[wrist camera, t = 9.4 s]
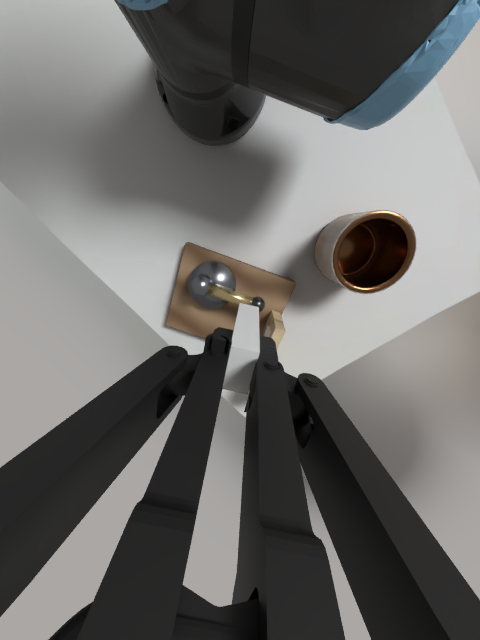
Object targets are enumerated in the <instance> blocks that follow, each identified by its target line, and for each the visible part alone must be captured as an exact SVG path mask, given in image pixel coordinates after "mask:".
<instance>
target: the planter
mask: <svg viewBox="0 0 480 640" xmlns="http://www.w3.org/2000/svg"><path fill="white" fill-rule="evenodd" d="M415 251H416V236H415V232H414V230H413V228H412V226H411V224H410V223H409V221H408V220H407V219H406V218H404V217H403V216H402V215H400V214H398V213H396V212H392V211H387V210H377V211H370V212H363V213H355V214H348V215H344V216H341V217H339V218H337V219H335V220H334V221H332V222H331V223H329V224H328V225H327V226H326V227H325V228H324V230H323V231H322V232H321V234H320V235H319V237H318V240H317V242H316V246H315V260H316V264H317V266H318V268H319V270H320V271H321V272H322V273H323V274H324V275H325V276H326V277H327V278H329V279H331V280H332V281H334V282H336V283H338V284H339V285H341V286H343V287H344V288H346V289H348V290H350V291H352V292H355V293H360V294H371V293H376V292H379V291H382V290H385V289H387V288H389V287H390V286H392V285H393V284H395V283H396V282H397V281H398V280H400V279H401V278H402V277H403V275H404V274H405V273H406V272H407V270H408V269H409V267H410V265H411V263H412V261H413V259H414V256H415Z"/></svg>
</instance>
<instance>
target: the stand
mask: <svg viewBox="0 0 480 640" xmlns="http://www.w3.org/2000/svg"><path fill="white" fill-rule="evenodd" d="M206 261H219V262H222V263H224V264H225V265H227V266H228V267H229V268H230V269H231V270H232V272H233V273H234V276H235V279H236V290H235V292H238V293H241V294H244V295H247V296H250V297H256V296H258V297H261V298H262V299H263V300H264V302H265V307H264V309H263V310H262V311H261V312H259V335H261V336H266V337H270V338H272V339H273V340H274V341H275V343H276V350H277V348H278V346H279V344H280V342H281V340H282V338H283V336H284V333H285V327H284V324H283V321H282V318H281V315H282V313H283V311H284V308H285V306H286V304H287V302H288V300H289V297H290V295H291V293H292V291H293V289H294V286H295V284H296V283H295V282H294V281H293V280H290V279H287V278H284V277H282V276H279V275H276V274H274V273H271V272H268V271H265V270H263V269H260V268H257V267H255V266H252V265H249V264H246V263H244V262H241V261H238V260H236V259H233V258H230V257H227V256H225V255H222V254H219V253H217V252H214V251H211V250H208V249H206V248H203V247H200V246H198V245H195V244H192V243H189V242H188V243H185V248H184V252H183V256H182V260H181V264H180V268H179V272H178V276H177V280H176V285H175V289H174V293H173V297H172V301H171V305H170V309H169V313H168V317H167V322H166V325H167V326H170V327H173V328H176V329H179V330H182V331H185V332H188V333H191V334H194V335H197V336H200V337H202V338H205V339H206V336H207V335H209V334H212V333H213V332H214V330H215V329H216V328H218V327H221V328H226V329H231V330H234V327H235V322H236V318H237V313H238V309H239V305H238V304H235V303H232V302H229V303H228V304H226V305H225V306H223V307H220V308H207V307H204V306H202V305H200V304H199V303H197V302H196V301H195V300H194V298H193V297H192V295H191V293H190V292H189V288H188V286H189V277H190V275H191V273H192V271H193V270H194V269H195V268H196V267H197V266H198V265H200V264H201V263H203V262H206Z"/></svg>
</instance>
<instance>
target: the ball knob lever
mask: <svg viewBox="0 0 480 640" xmlns="http://www.w3.org/2000/svg"><path fill="white" fill-rule="evenodd" d="M188 288H189V292H190V293H191V295H192V297H193V298H194V300H195V301H196V302H197V303H199V304H200V305H202V306H204V307H207V308H220V307H223V306H225V305H226V304H228V303H229V302H232V303H235V304H238V305H239V304H240V303H242V304H247V305H251V306H256V307H259V312H261V311H262V310H263V309H264V307H265V302H264V300H263V299H262V298H261V297H258V296H256V297H250V296H247V295H244V294H241V293H238V292H235V290H236V279H235V276H234V273H233V272H232V270H231V269H230V268H229V267H228V266H227V265H225V264H224V263H222V262H219V261H206V262H203V263H201V264H200V265H198V266H197V267H196V268H195V269H194V270H193V271H192V273H191V275H190V277H189V286H188Z"/></svg>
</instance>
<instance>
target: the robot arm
mask: <svg viewBox="0 0 480 640" xmlns="http://www.w3.org/2000/svg"><path fill="white" fill-rule="evenodd" d="M115 2H116V3H117V5H118V6H119V8H120V10H121V11H122V13H123V14H124V16H125V18H126V19H127V21H128V23H129V24H130V26H131V27H132V29H133V31H134V32H135V34H136V35H137V37H138V39H139V40H140V42H141V43H142V45H143V47H144V48H145V50H146V51H147V53H148V55H149V56H150V58H151V59H152V61H153V64H154V70H155V77H156V82H157V86H158V90H159V93H160V96H161V98H162V101H163V103H164V105H165V107H166V109H167V111H168V113H169V114H170V116H171V117H172V119H173V120H174V121H175V123H176V124H177V125H178V127H179V128H180V129H181V130H182V131H183V132H184V133H185V134H186V135H188V136H189V137H190V138H192V139H194V140H195V141H197V142H200V143H203V144H206V145H224V144H228V143H230V142H233V141H235V140H237V139H238V138H240V137H241V136H243V135H244V134H245V133H246V132H247V131H248V130H249V129H250V128H251V127H252V125H253V124H254V123H255V121H256V119H257V118H258V116H259V114H260V112H261V110H262V107H263V105H264V102H265V98H266V95H267V96H269V97H272V98H275V99H277V100H280V101H282V102H285V103H287V104H290V105H293V106H295V107H298V108H300V109H303V110H306V111H308V112H311V113H313V114H316V115H318V116H321V117H323V118H324V121H326V122H328V123H331V124H333V123H340V124H343V125H346V126H349V127H352V128H356V129H359V130H368V129H370V128H373V127H377V126H380V125H382V124H384V123H385V122H387V121H388V120H390V119H391V118H393V117H394V116H395V115H396V114H398V113H399V112H400V111H401V110H402V109H404V108H405V107H406V106H407V105H408V104H409V103H410V102H411V101H412V100H413V99H414V98H415V97H416V96H417V95H418V94H419V93H420V92H421V91H422V90H423V89H424V88H425V87H426V85H427V84H428V83H429V82H430V81H431V80H432V79H433V78H434V76H435V75H436V74H437V73H438V72H439V71H440V69H441V68H442V67H443V66H444V65H445V64H446V62H447V61H448V60H449V59H450V57H451V56H452V55H453V53H454V52H455V51H456V50H457V49H458V47H459V46H460V45H461V43H462V42H463V41H464V39H465V38H466V37H467V35H468V34H469V32H470V31H471V30H472V28H473V27H474V26H475V24H476V23H477V21H478V20H479V18H480V0H115ZM222 389H226V390H230V391H235V392H240V393H244V394H248V392H249V389H250V393H249V397H248V400H247V404H246V407H245V411H244V412H246V411H247V414H246V431H245V447H244V465H243V481H242V498H241V515H240V531H239V548H238V564H237V574H236V581H235V586H234V592H233V600H232V605H228V606H223V607H217V606H214V605H212V604H211V603H209V602H208V601H206V600H205V599H203V598H202V597H200V596H199V595H197V594H196V593H194V592H193V591H191V590H190V589H188V588H186V587H185V586H183V585H182V584H183V579H184V574H185V569H186V564H187V559H188V555H189V550H190V545H191V540H192V535H193V530H194V525H195V520H196V515H197V509H198V504H199V499H200V495H201V490H202V485H203V480H204V475H205V470H206V466H207V461H208V456H209V451H210V446H211V441H212V436H213V432H214V427H215V422H216V417H217V412H218V407H219V403H220V398H221V393H222ZM183 395H185V398H184V400H183V403H182V405H181V407H180V410H179V412H178V415H177V417H176V420H175V422H174V425H173V427H172V429H171V432H170V434H169V437H168V439H167V441H166V444H165V446H164V449H163V451H162V453H161V456H160V458H159V461H158V463H157V466H156V468H155V471H154V473H153V475H152V478H151V480H150V483H149V485H148V488H147V490H146V492H145V494H144V497H143V498H142V500H141V501H140V502H138V503H137V505H136V506H135V508H134V509H133V511H132V514H131V516H130V518H129V520H128V522H127V524H126V527H125V529H124V531H123V534H122V536H121V539H120V541H119V543H118V545H117V548H116V550H115V552H114V555H113V557H112V559H111V561H110V564H109V567H108V568H107V571H106V574H105V576H104V578H103V580H102V582H101V585H100V587H99V589H98V592H97V594H96V596H95V599H94V601H93V602H92V603H90V604H89V605H87V606H86V607H84V608H83V609H81V610H80V611H79V612H78V613H77V614H75V615H74V616H73V617H72V618H71V619H69V620H68V621H67V622H66V623H65V624H64V625H63V626H62V627H61V628H60V629H59V630H58V631H57V632H56V633H55V634H54V635H53V636H52V637H51V638H50V639H49V640H345V636H344V631H343V626H342V622H341V617H340V612H339V608H338V602H337V598H336V593H335V589H334V584H333V579H332V575H331V569H330V565H329V560H328V556H327V553H326V549H325V547H324V545H323V543H322V541H321V539H319V538H318V537H316V536H315V535H314V533H313V531H312V527H311V522H310V516H309V511H308V505H307V499H306V494H305V488H304V483H303V477H302V471H301V465H302V468H303V470H304V473H305V475H306V478H307V480H308V483H309V485H310V488H311V490H312V493H313V495H314V497H315V500H316V502H317V505H318V507H319V510H320V513H321V515H322V518H323V520H324V522H325V525H326V528H327V530H328V533H329V535H330V538H331V540H332V543H333V545H334V548H335V550H336V552H337V555H338V557H339V560H340V562H341V565H342V567H343V570H344V572H345V575H346V577H347V580H348V582H349V585H350V587H351V590H352V592H353V595H354V597H355V600H356V602H357V605H358V607H359V610H360V612H361V615H362V617H363V620H364V622H365V625H366V627H367V630H368V632H369V635H370V637H371V640H480V600H479V598H478V597H477V596H476V594H475V593H474V592H473V590H472V589H471V587H470V586H469V585H468V583H467V582H466V580H465V579H464V578H463V576H462V575H461V573H460V572H459V571H458V569H457V568H456V567H455V565H454V564H453V562H452V561H451V560H450V558H449V557H448V555H447V554H446V553H445V551H444V550H443V548H442V547H441V546H440V544H439V543H438V541H437V540H436V539H435V537H434V536H433V535H432V533H431V532H430V530H429V529H428V528H427V526H426V525H425V524H424V522H423V521H422V519H421V518H420V516H419V515H418V514H417V512H416V511H415V510H414V508H413V507H412V505H411V504H410V503H409V501H408V500H407V498H406V497H405V496H404V495H403V493H402V491H401V490H400V489H399V487H398V486H397V484H396V483H395V482H394V480H393V479H392V477H391V476H390V475H389V473H388V472H387V471H386V469H385V468H384V466H383V465H382V464H381V462H380V461H379V459H378V458H377V457H376V455H375V454H374V452H373V451H372V450H371V448H370V447H369V446H368V444H367V443H366V442H365V440H364V439H363V437H362V436H361V434H360V433H359V432H358V430H357V429H356V428H355V426H354V425H353V423H352V422H351V420H350V419H349V418H348V416H347V415H346V414H345V412H344V411H343V409H342V408H341V407H340V405H339V404H338V403H337V401H336V400H335V398H334V397H333V395H332V394H331V393H330V391H329V390H328V388H327V387H326V386H325V384H324V383H323V382H322V381H321V380H320V379H319V378H318V377H316V376H314V375H312V374H308V373H301V374H300V375H299V376H298V378H296V377H293V376H291V375H289V374H287V373H285V372H284V369H283V366H282V364H281V363H280V362H278V356H277V350H276V343H275V341H274V340H273V339H272V338H270V337H266V336H261V335H259V307H256V306H251V305H247V304H242V303H240V304H239V309H238V313H237V318H236V322H235V327H234V330H231V329H226V328H221V327H218V328H216V329H215V330H214V332H213V333H212V334H209V335H207V336H206V340H205V347H204V352H203V353H202V354H198V355H188V353H187V351H186V350H185V349H184V348H182V347H179V346H167V347H164V348H162V349H161V350H160V351H158V352H157V353H155V354H154V355H153V356H151V357H150V358H149V359H147V360H146V361H145V362H143V363H142V364H141V365H139V366H138V367H136V368H135V369H134V370H132V371H131V372H130V373H128V374H127V375H126V376H124V377H123V378H122V379H120V380H119V381H117V382H116V383H115V384H113V385H112V386H111V387H109V388H108V389H107V390H106V391H104V392H103V393H101V394H100V395H98V396H97V397H96V398H94V399H93V400H92V401H90V402H89V403H88V404H86V405H85V406H84V407H82V408H81V409H79V410H78V411H77V412H75V413H74V414H73V415H71V416H70V417H69V418H67V419H66V420H65V421H63V422H62V423H61V424H59V425H58V426H56V427H55V428H54V429H52V430H51V431H50V432H48V433H47V434H46V435H44V436H43V437H42V438H40V439H39V440H37V441H36V442H35V443H33V444H32V445H31V446H29V447H28V448H27V449H25V450H24V451H22V452H21V453H20V454H18V455H17V456H16V457H14V458H13V459H12V460H10V461H9V462H8V463H6V464H5V465H4V466H2V467H1V468H0V617H1V615H2V614H3V613H4V612H5V611H6V610H7V609H8V608H9V606H10V605H11V604H12V603H13V602H14V601H15V599H16V598H17V597H18V596H19V595H20V594H21V593H22V591H23V590H24V589H25V588H26V587H27V586H28V585H29V583H30V582H31V581H32V580H33V578H34V577H35V576H36V575H37V574H38V572H39V571H40V570H41V569H42V567H43V566H44V565H45V564H46V563H47V561H48V560H49V559H50V558H51V557H52V555H53V554H54V553H55V552H56V551H57V549H58V548H59V547H60V546H61V544H62V543H63V542H64V541H65V539H66V538H67V537H68V536H69V535H70V533H71V532H72V531H73V530H74V529H75V527H76V526H77V525H78V524H79V523H80V521H81V520H82V519H83V518H84V516H85V515H86V514H87V513H88V512H89V510H90V509H91V508H92V507H93V506H94V504H95V503H96V502H97V501H98V499H99V498H100V497H101V496H102V495H103V493H104V492H105V491H106V490H107V488H108V487H109V486H110V485H111V484H112V482H113V481H114V480H115V479H116V478H117V476H118V475H119V474H120V473H121V471H122V470H123V469H124V468H125V467H126V465H127V464H128V463H129V462H130V460H131V459H132V458H133V457H134V456H135V454H136V453H137V452H138V451H139V450H140V448H141V447H142V446H143V445H144V443H145V442H146V441H147V440H148V438H149V437H150V436H151V435H152V434H153V433H154V431H155V430H156V429H157V428H158V426H159V425H160V424H161V423H162V422H163V420H164V419H165V418H166V417H167V415H168V414H169V413H170V412H171V411H172V409H173V408H174V407H175V406H176V404H177V403H178V402H179V401H180V400H181V398H182V396H183ZM311 418H312V419H311ZM300 463H301V465H300Z"/></svg>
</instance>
